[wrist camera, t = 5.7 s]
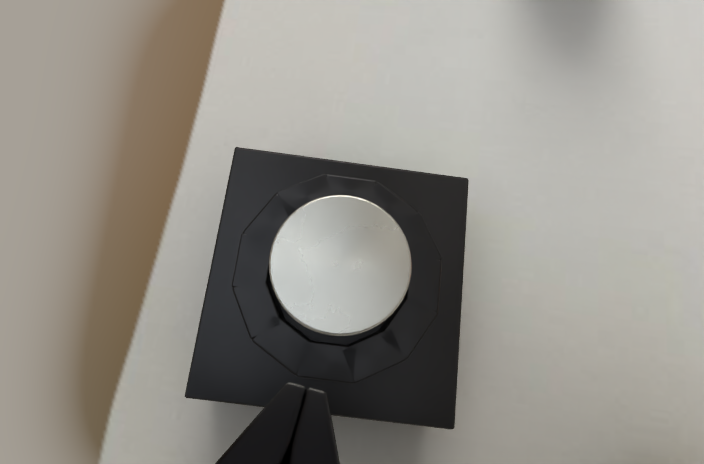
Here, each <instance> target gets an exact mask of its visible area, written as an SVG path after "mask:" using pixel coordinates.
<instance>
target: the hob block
mask: <svg viewBox="0 0 704 464" xmlns="http://www.w3.org/2000/svg"><path fill="white" fill-rule="evenodd" d="M331 195H350V196H355V197H359V198H362V199H365V200H368V201H370V202H372V203H374V204H376V205H378V206H379V207H381V208H382V209H384V210H385V211H386V212H387V213H388V214H390V215H391V217H392V218H393V219H394V220H395V221H396V222H397V224H398V225H399V226H400V228H401V229H402V231H403V233H404V235H405V237H406V239H407V242H408V245H409V248H410V253H411V260H412V272H411V279H410V283H409V287H408V290H407V292H406V295H405V297H404V299H403V301H402V302H401V304H400V305H399V307H398V308H397V309H396V311H395V312H394V313H393V314H392V315H391V316H390V317H389V318H388V319H387V320H386V321H384V322H383V323H381V324H380V325H379V326H377V327H375V328H373V329H371V330H369V331H366V332H363V333H361V334H356V335H352V336H328V335H323V334H320V333H317V332H314V331H312V330H310V329H308V328H306V327H304V326H303V325H301V324H300V323H298V322H297V321H295V320H294V319H293V318H292V317H291V316H290V315H289V314H288V313H287V312H286V311H285V310H284V308H283V307H282V306H281V304H280V302H279V301H278V299H277V297H276V295H275V293H274V291H273V288H272V284H271V281H270V275H269V256H270V250H271V246H272V243H273V240H274V238H275V235H276V234H277V232H278V230H279V228H280V227H281V225H282V224H283V223H284V221H285V220H286V219H287V218H288V217H289V216H290V215H291V214H292V213H293V212H294V211H295V210H297V209H298V208H299V207H301V206H303V205H304V204H306V203H308V202H310V201H312V200H315V199H318V198H321V197H325V196H331ZM467 198H468V179H467V178H461V177H453V176H446V175H438V174H431V173H424V172H416V171H409V170H401V169H394V168H387V167H379V166H372V165H365V164H357V163H350V162H342V161H335V160H328V159H320V158H313V157H305V156H298V155H291V154H283V153H276V152H268V151H261V150H254V149H246V148H239V147H236V148H235V151H234V155H233V160H232V165H231V170H230V175H229V180H228V185H227V190H226V195H225V200H224V205H223V210H222V215H221V220H220V225H219V229H218V234H217V239H216V244H215V249H214V254H213V259H212V264H211V269H210V274H209V279H208V284H207V289H206V294H205V299H204V303H203V308H202V313H201V318H200V323H199V328H198V333H197V338H196V343H195V348H194V353H193V358H192V363H191V368H190V372H189V377H188V382H187V387H186V392H185V397H186V398H192V399H200V400H209V401H217V402H226V403H234V404H242V405H251V406H259V407H265V406H266V405H267V404H268V403H269V402H270V401H271V400H272V398H273V397H274V396H275V395H276V394H277V393H278V392H279V390H280V389H281V388H282V387H283V386H284V385H285V384H286V383H288V382H292V383H296V384H300V385H303V386H305V387H306V390H307V388H309V387H311V388H315V389H319V390H323V391H325V392H326V393H327V396H328V402H329V407H330V412H331V415H335V416H343V417H351V418H360V419H368V420H377V421H385V422H393V423H402V424H410V425H419V426H427V427H435V428H444V429H454V424H455V406H456V389H457V372H458V354H459V337H460V319H461V302H462V285H463V267H464V250H465V232H466V215H467ZM305 393H306V392H305Z"/></svg>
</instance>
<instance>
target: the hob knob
mask: <svg viewBox="0 0 704 464" xmlns="http://www.w3.org/2000/svg"><path fill="white" fill-rule="evenodd" d="M411 272H412V260H411V253H410V248H409V245H408V242H407V239H406V237H405V235H404V233H403V231H402V229H401V228H400V226H399V225H398V224H397V222H396V221H395V220H394V219H393V218H392V217H391V215H390V214H388V213H387V212H386V211H385V210H384V209H382V208H381V207H379V206H378V205H376V204H374V203H372V202H370V201H368V200H365V199H362V198H359V197H355V196H350V195H331V196H325V197H321V198H318V199H315V200H312V201H310V202H308V203H306V204H304V205H303V206H301V207H299V208H298V209H297V210H295V211H294V212H293V213H292V214H291V215H290V216H289V217H288V218H287V219H286V220H285V221H284V223H283V224H282V225H281V227H280V228H279V230H278V232H277V234H276V235H275V238H274V240H273V243H272V246H271V250H270V256H269V275H270V281H271V284H272V288H273V291H274V293H275V295H276V297H277V299H278V301H279V302H280V304H281V306H282V307H283V308H284V310H285V311H286V312H287V313H288V314H289V315H290V316H291V317H292V318H293V319H294V320H295V321H297V322H298V323H300V324H301V325H303V326H304V327H306V328H308V329H310V330H312V331H314V332H317V333H320V334H323V335H328V336H352V335H356V334H361V333H363V332H366V331H369V330H371V329H373V328H375V327H377V326H379V325H380V324H381V323H383V322H384V321H386V320H387V319H388V318H389V317H390V316H391V315H392V314H393V313H394V312H395V311H396V309H397V308H398V307H399V305H400V304H401V302H402V301H403V299H404V297H405V295H406V292H407V290H408V287H409V283H410V279H411Z"/></svg>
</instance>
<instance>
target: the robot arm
mask: <svg viewBox="0 0 704 464" xmlns="http://www.w3.org/2000/svg"><path fill="white" fill-rule="evenodd" d="M305 392H306V393H305ZM215 464H340V462H339V456H338V451H337V445H336V440H335V434H334V429H333V423H332V418H331V412H330V407H329V402H328V396H327V393H326V392H325V391H323V390H319V389H315V388H311V387H309V388H307V390H306V387H305V386H303V385H300V384H296V383H292V382H288V383H286V384H285V385H284V386H283V387H282V388H281V389H280V390H279V392H278V393H277V394H276V395H275V396H274V397H273V398H272V400H271V401H270V402H269V403H268V404H267V405H266V406H265V407H264V409H263V410H262V411H261V412H260V413H259V414H258V415H257V417H256V418H255V419H254V420H253V421H252V422H251V423H250V425H249V426H248V427H247V428H246V429H245V430H244V431H243V433H242V434H241V435H240V436H239V437H238V438H237V439H236V440H235V442H234V443H233V444H232V445H231V446H230V447H229V448H228V450H227V451H226V452H225V453H224V454H223V455H222V456H221V458H220V459H219V460H218V461H217V462H216V463H215Z"/></svg>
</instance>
